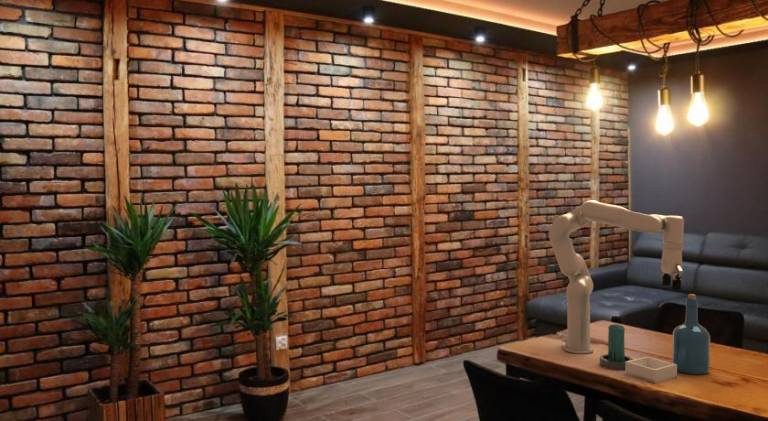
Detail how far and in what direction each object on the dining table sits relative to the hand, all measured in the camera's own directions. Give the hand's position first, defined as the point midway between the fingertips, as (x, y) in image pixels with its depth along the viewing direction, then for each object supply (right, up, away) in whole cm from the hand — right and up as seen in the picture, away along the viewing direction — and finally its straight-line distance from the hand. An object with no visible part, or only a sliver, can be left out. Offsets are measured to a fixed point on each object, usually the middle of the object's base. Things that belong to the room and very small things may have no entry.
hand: (671, 287), depth 265 cm
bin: (-16, -32, -18) cm, 40 cm away
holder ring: (-24, -31, -5) cm, 40 cm away
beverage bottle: (-24, -31, -5) cm, 40 cm away
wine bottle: (+2, -31, -12) cm, 34 cm away
